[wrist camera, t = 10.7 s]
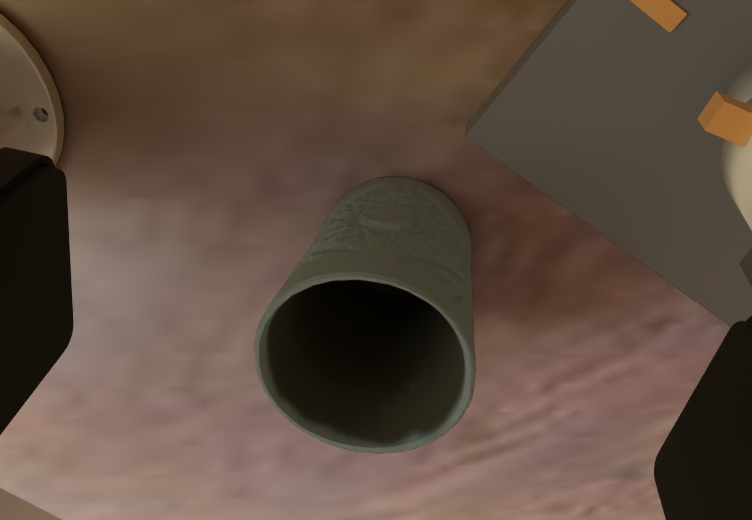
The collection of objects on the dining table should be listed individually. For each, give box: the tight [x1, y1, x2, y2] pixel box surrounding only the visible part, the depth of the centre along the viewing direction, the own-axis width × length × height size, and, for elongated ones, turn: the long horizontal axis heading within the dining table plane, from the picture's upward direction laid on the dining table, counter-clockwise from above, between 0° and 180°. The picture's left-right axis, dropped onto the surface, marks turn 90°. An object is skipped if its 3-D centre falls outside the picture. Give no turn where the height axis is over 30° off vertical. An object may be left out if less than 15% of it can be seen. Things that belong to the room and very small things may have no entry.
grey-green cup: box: [255, 177, 476, 454], centre depth 37 cm, size 10×10×12 cm
